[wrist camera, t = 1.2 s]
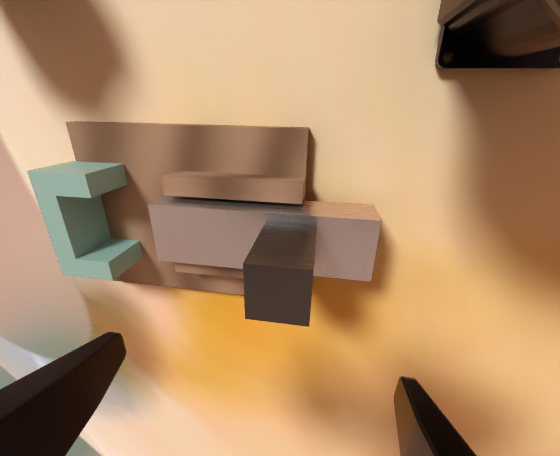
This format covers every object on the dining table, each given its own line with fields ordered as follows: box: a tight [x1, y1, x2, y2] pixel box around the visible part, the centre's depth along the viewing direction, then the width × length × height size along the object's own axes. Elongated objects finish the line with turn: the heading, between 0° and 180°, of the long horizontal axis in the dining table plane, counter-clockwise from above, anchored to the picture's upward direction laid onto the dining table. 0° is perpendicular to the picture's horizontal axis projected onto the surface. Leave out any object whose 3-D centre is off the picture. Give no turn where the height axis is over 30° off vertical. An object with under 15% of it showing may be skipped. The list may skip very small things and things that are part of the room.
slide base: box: [66, 121, 309, 295], centre depth 20 cm, size 17×13×3 cm
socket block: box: [27, 161, 143, 281], centre depth 20 cm, size 4×8×4 cm, turn 179°
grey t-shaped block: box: [148, 195, 381, 327], centre depth 16 cm, size 14×4×8 cm, turn 89°
